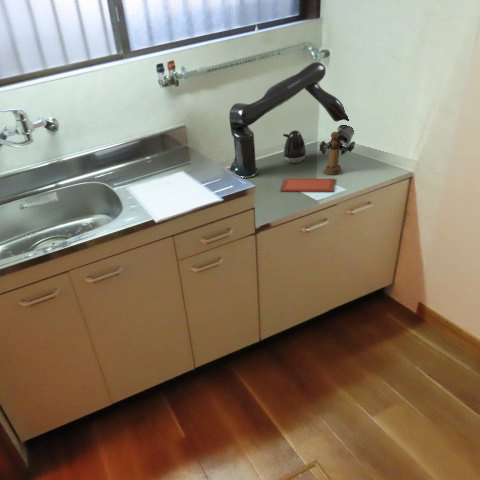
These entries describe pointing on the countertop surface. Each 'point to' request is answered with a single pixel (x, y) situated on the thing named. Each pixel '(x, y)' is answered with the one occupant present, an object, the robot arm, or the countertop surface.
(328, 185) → the tray
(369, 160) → the countertop surface
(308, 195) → the countertop surface
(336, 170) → the mortar and pestle
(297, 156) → the pump dispenser
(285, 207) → the countertop surface
